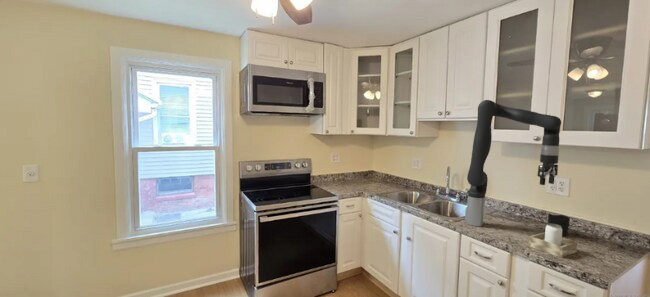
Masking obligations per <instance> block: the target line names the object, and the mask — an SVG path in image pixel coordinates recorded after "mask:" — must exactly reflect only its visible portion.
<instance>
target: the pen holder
mask: <svg viewBox="0 0 650 297" xmlns="http://www.w3.org/2000/svg"><path fill="white" fill-rule="evenodd" d="M547 218H548V219H547V224H548V223H552V224H557V225H560V226H561V228H562V237H567V235H568V233H569V225H570V217H569V216H567V215H564V214H558V215H554V214H551V213H548V216H547Z"/></svg>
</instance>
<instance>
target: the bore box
mask: <svg viewBox="0 0 650 297" xmlns="http://www.w3.org/2000/svg"><path fill="white" fill-rule="evenodd" d="M528 247H530V248H534V249H535V250H539V251H541V252H544V253H547V254H550V255H553V256H556V257H558V258H561V259H563V258H564V256H565V257H567V255H568V256H569V255H572V254H576V253H577V251H578V242H577V241H575V240H571V239H568V238H565V237H562V241H561V246H559V245H556V244H553V243H550V242H546V241H545V232H544V231H543V232H539V233H537V234H533V235H530V236H529V238H528ZM575 252H576V253H575Z"/></svg>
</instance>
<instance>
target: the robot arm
mask: <svg viewBox="0 0 650 297" xmlns="http://www.w3.org/2000/svg"><path fill="white" fill-rule="evenodd" d="M493 117H497V118H498V117H499V118H504V119H508V120H511V121H515V122H518V123H522V124H527V125H529V126H530V125H531V126H537V127H540V128H543V135H542V142H541V149H540V155H539V156H540V157H539V162H540V163H542V165H538V168H537V174H536V176H537V177H539V185H541V186H545V185H546V181H547V180H546V177H547V176H548V184H550V185H551V184H552V185H553V184H554V183H555V178H556V176H558V172H559V171H558V170H559V165H558V163H559V154H560V132H561V126H562V125H561V124H562V120H561V118H559V117H558V116H556V115H550V114H544V113H539V112H536V111H532V110H531V111H530V110H527V109H522V108H515V107H509V106H506V105H502V104H499V103H497V102H495V101H493V100H490V99H484V100H482V101H480V103H479V104H478V106H477V121H476V127H475V132H474V137H473V143H472V151H471V158H470V166H469V169H468V172H467V176H466V178H467V182H468V184H469V185H470V188H469V190H468V192H467V203H466V204H467V205H466V207H465V211H464V212H465V213H464V223H466V224H467V225H469V226H472V227H483V226H484V220H485V219H484V218H485V217H484V216H485V203H486V202H485V201H486V200H485V199H486V194H487V189H488V181H489V180H488V174H487V172H485V171H484V167H485V163H486V160H487V159H488V156H489V153H490V150H491V145H492V138H493V137H492V136H493V135H492V123H493V122H492V121H493V119H494V118H493Z"/></svg>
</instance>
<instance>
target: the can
mask: <svg viewBox="0 0 650 297" xmlns="http://www.w3.org/2000/svg"><path fill="white" fill-rule="evenodd" d="M562 238H563V236H562V228H561V226H560V225H557V224H552V223H548V222H547V223H546V225H545V241H546V242H550V243H553V244H556V245H559V246H561V241H562Z"/></svg>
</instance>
